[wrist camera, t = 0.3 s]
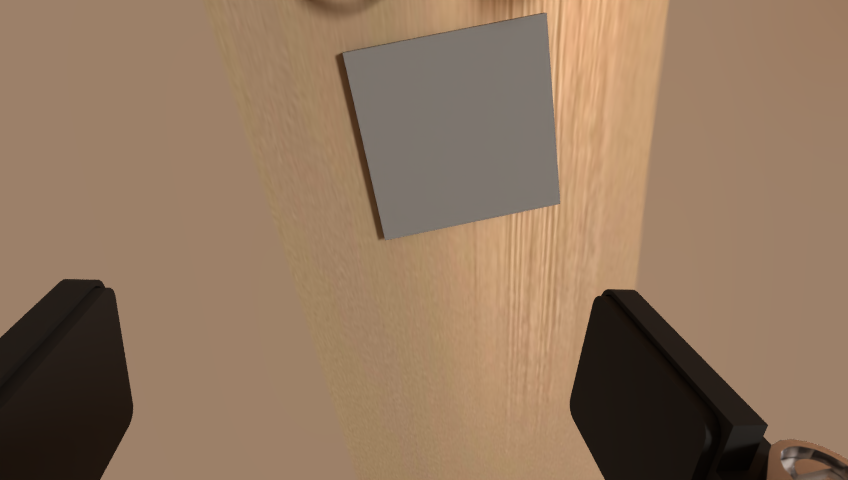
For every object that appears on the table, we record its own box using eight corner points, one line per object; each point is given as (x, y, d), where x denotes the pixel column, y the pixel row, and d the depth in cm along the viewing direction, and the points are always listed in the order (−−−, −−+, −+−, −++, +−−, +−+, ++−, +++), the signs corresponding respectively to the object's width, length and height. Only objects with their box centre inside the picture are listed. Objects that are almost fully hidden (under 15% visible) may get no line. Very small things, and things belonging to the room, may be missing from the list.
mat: (342, 52, 36) (342, 53, 36) (543, 12, 37) (546, 12, 36) (384, 237, 42) (385, 240, 42) (557, 201, 43) (560, 203, 42)
